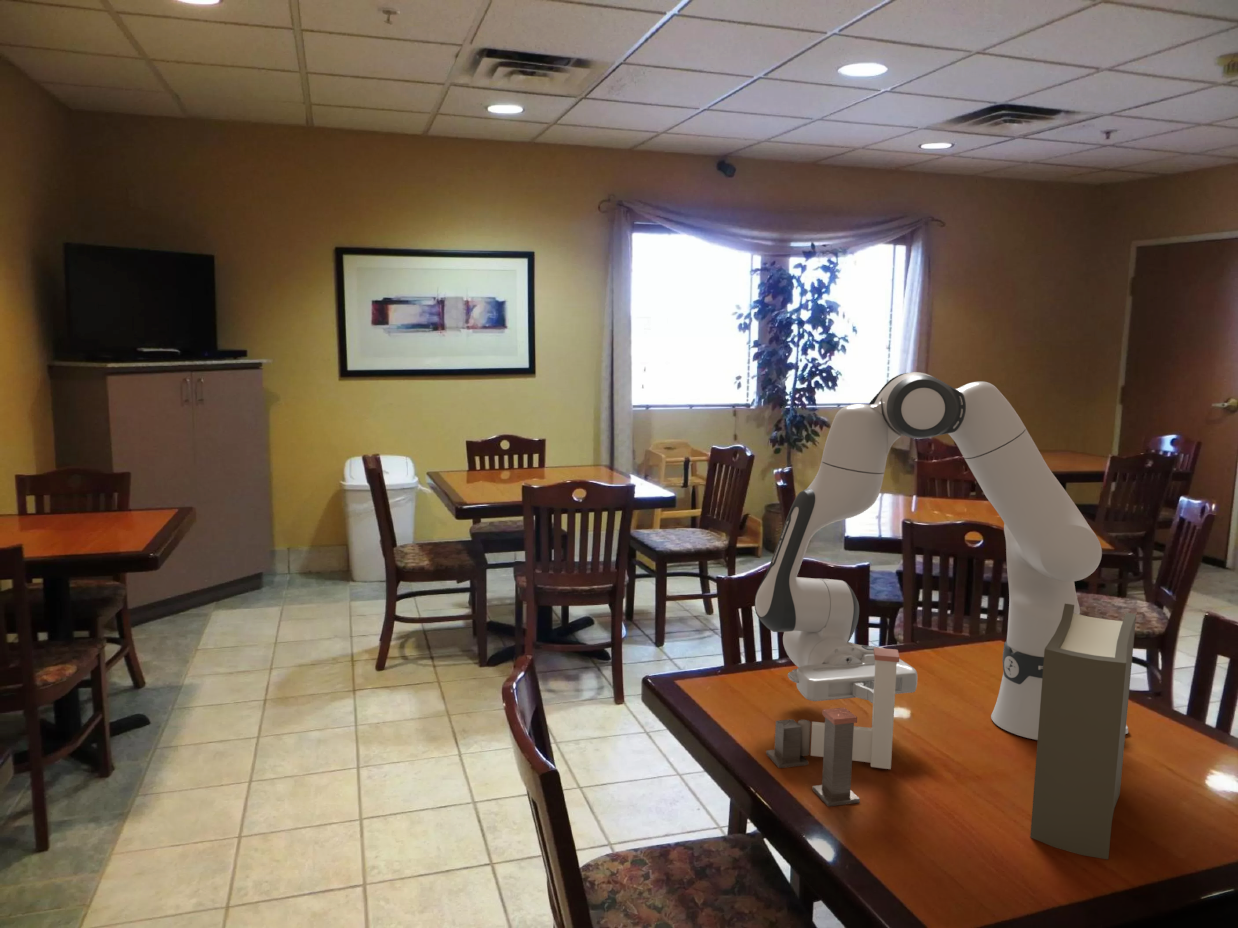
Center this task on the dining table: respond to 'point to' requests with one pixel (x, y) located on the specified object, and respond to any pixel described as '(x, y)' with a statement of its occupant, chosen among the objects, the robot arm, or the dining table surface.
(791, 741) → the hinge post
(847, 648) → the robot arm
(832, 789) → the post
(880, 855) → the dining table surface
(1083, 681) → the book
